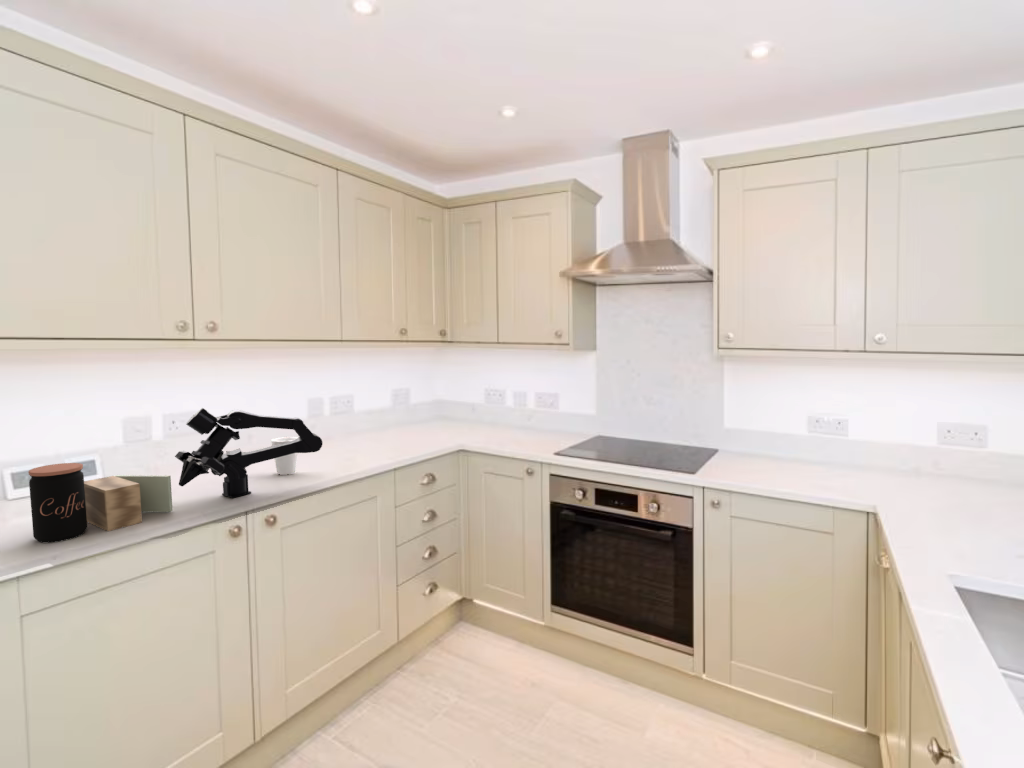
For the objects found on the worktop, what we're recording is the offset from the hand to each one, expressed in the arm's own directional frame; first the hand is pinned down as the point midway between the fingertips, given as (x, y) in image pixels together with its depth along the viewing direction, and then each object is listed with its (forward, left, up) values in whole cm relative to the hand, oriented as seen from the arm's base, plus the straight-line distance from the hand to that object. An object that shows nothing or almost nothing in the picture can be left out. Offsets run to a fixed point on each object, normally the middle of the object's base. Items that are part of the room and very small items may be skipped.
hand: (180, 485), depth 159 cm
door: (+8, -5, -6) cm, 11 cm away
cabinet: (+17, -3, -7) cm, 18 cm away
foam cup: (-42, -9, -7) cm, 44 cm away
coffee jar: (+28, -2, -7) cm, 29 cm away
